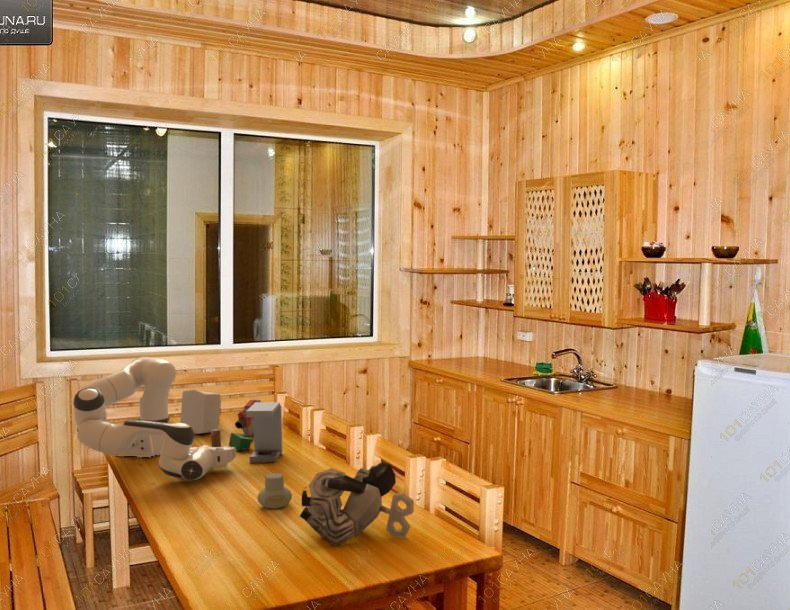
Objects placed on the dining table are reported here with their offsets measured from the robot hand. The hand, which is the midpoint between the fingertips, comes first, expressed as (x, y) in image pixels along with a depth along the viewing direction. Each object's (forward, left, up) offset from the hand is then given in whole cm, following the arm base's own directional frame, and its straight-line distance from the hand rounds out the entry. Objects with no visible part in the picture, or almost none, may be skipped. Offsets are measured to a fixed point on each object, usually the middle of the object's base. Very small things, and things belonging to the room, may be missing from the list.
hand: (213, 448), depth 286 cm
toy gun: (+4, +44, -6) cm, 45 cm away
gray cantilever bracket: (+19, +5, -6) cm, 20 cm away
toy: (+61, -71, -6) cm, 94 cm away
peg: (0, +4, -6) cm, 7 cm away
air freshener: (+33, -48, -6) cm, 58 cm away
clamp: (+6, +22, -6) cm, 24 cm away
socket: (+19, +5, -6) cm, 20 cm away
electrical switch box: (-19, +53, -6) cm, 57 cm away
